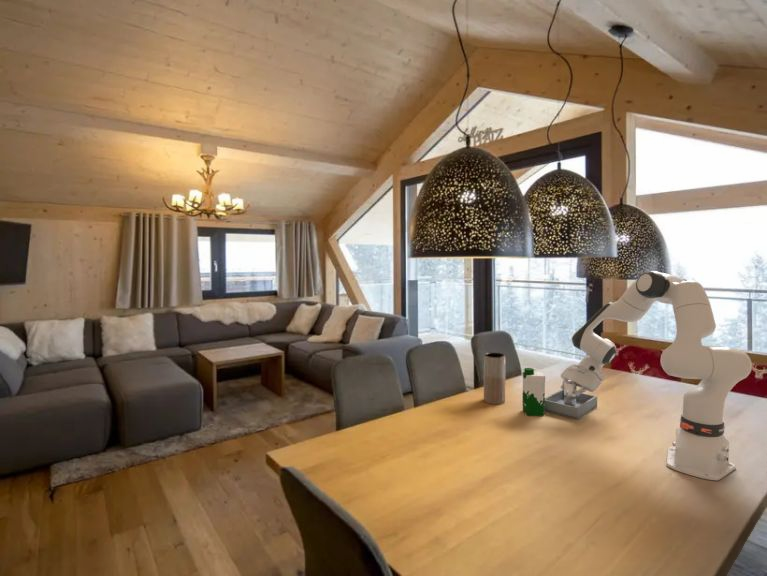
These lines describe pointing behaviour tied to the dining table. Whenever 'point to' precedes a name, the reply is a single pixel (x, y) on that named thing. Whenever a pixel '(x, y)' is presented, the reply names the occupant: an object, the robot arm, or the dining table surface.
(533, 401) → the milk carton
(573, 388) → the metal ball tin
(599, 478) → the dining table surface
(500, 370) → the planter
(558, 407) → the bin
